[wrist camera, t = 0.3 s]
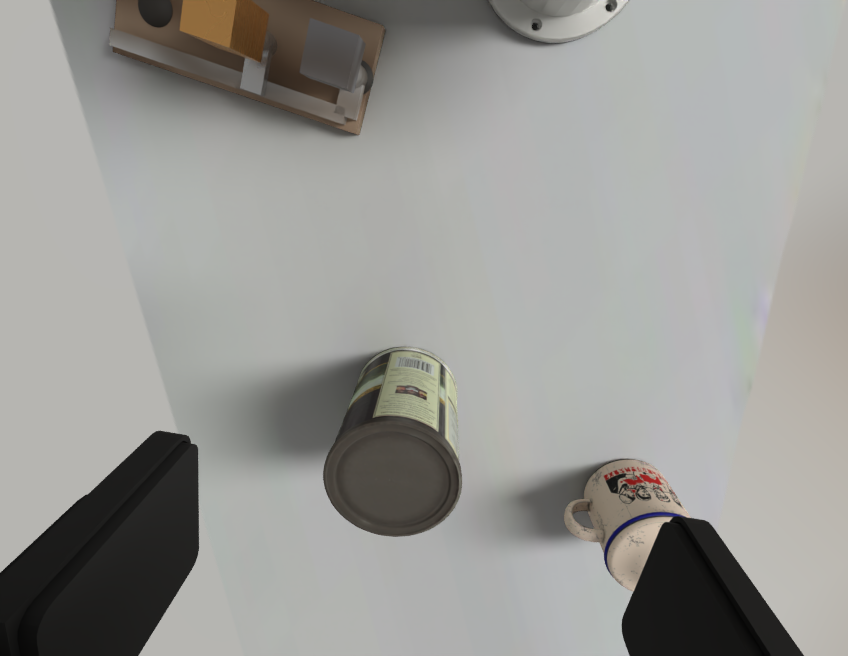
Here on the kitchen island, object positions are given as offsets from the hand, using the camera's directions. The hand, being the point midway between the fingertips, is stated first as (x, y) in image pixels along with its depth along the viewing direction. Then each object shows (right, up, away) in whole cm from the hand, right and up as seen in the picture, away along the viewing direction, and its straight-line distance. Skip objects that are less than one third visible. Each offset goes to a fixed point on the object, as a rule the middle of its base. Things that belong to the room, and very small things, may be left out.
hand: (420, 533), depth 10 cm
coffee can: (-2, -2, +39) cm, 39 cm away
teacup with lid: (+20, -13, +42) cm, 48 cm away
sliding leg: (-12, +25, +27) cm, 39 cm away
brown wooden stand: (-14, +27, +29) cm, 42 cm away
